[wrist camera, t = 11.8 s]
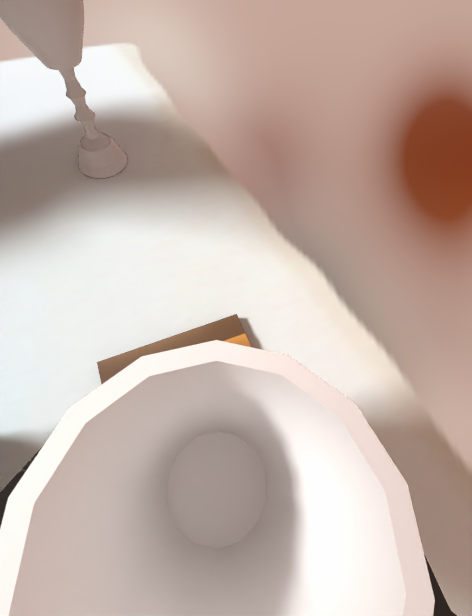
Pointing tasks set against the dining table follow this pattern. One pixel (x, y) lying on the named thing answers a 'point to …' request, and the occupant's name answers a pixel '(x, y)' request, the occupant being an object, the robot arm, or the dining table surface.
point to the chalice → (64, 69)
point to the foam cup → (213, 499)
